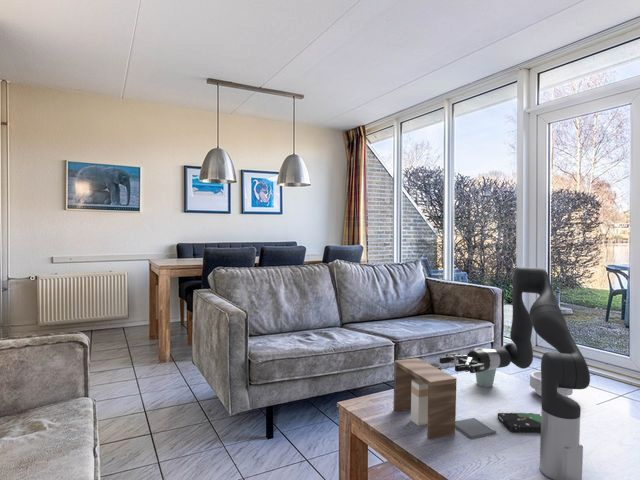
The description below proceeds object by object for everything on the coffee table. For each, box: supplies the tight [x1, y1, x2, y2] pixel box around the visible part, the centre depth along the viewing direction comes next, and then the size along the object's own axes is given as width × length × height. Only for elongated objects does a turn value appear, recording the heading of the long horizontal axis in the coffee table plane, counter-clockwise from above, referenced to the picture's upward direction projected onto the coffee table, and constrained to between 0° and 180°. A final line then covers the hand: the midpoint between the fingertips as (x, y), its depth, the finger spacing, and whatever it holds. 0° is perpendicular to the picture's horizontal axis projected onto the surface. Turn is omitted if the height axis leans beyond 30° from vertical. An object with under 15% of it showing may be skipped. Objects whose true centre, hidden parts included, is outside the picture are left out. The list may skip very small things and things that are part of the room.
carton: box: [410, 379, 428, 427], centre depth 141 cm, size 5×5×14 cm
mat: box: [455, 417, 496, 439], centre depth 136 cm, size 10×10×1 cm
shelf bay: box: [392, 357, 458, 440], centre depth 141 cm, size 22×10×18 cm, turn 21°
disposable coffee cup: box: [474, 347, 497, 388], centre depth 176 cm, size 11×11×15 cm
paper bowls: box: [529, 370, 574, 397], centre depth 165 cm, size 15×15×8 cm
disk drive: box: [497, 412, 541, 434], centre depth 139 cm, size 10×3×15 cm
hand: (447, 364), depth 144 cm, fingers open, 8 cm apart
